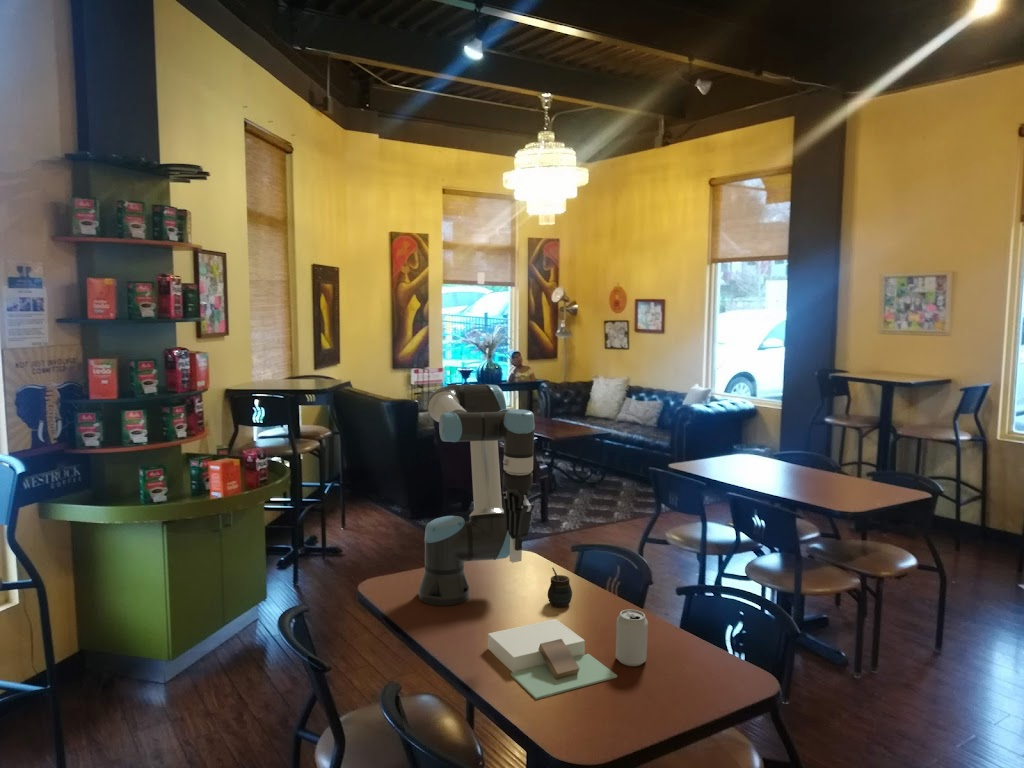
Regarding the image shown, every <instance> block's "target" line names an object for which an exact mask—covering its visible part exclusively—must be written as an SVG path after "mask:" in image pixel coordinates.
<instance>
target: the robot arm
mask: <svg viewBox="0 0 1024 768" xmlns="http://www.w3.org/2000/svg"><path fill="white" fill-rule="evenodd" d="M506 402H507V401H506V398H505V394H504V391H503V390H502V388H501V387H500V386H499V385H497V384H487V383H484V384H483V383H482V384H479V383H478V384H448V385H446V386H443V387H440V388H438V389H437V390H435V391H434V392H432V394H431V395H430V396H429V399H428V400H427V405H426V406H427V412H428V414H429V416H430V418H432V420H434V421H435V422H438V429H439V431H438V433H439V436H440V437H439V438H440V440H441V441H442V442H451V443H457V442H458V443H459V442H461V443H462V442H469V443H470V459H471V478H472V497H473V510H472V511H471V513H470V514H469V521H465V518H463V517H462V516H459V515H446V516H445V515H444V516H441V517H437V518H434V519H433V520H430V521H429V522H428V523H427V524H426V526H425V530H424V531H425V532H424V538H423V539H424V572H423V575H422V578H421V581H420V585H419V588H418V599H419V600H420V601H421V602H423V603H425V604H428V605H430V606H431V605H432V606H445V607H446V606H454V605H458V604H462V603H464V602H466V601H467V600H468V599H469V598H470V586H469V583H468V580H467V576H466V572H465V566H464V565H465V562H476V561H477V562H479V561H496V560H503V559H506V558H507V559H508V558H509V562H510V563H512V564H513V563H518V562H522V555H523V553H522V552H523V539H524V538H528V536H529V531H530V525H531V524H530V523H531V519H532V514H533V510H534V509H535V505H534V503H530V501H529V499H530V498H529V490H530V489H531V488H532V487H533V477H534V474H533V470H534V443H535V428H536V424H535V414H534V413H533V412H532V411H531V410H528V409H521V408H520V409H519V408H517V409H509V408H507V403H506ZM499 441H503V460H502V463H503V470H504V472H502V486H503V487H504V488H506V491H504V492H502V487H501V472H500V471H501V470H500V469H501V468H500V458H499Z"/></svg>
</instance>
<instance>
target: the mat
mask: <svg viewBox="0 0 1024 768" xmlns="http://www.w3.org/2000/svg"><path fill="white" fill-rule="evenodd" d="M573 658H574V660H575V661H576V663H577V665H578V666H579V668H580V669H579V672H578V674H576V675H572V676H568V677H565V678H561V679H557V680H556V679H555V678H554V676H553V674H552V672H551V671H550V669H549V667H548V665H547V664H545V665H541V666H537V667H533V668H529V669H525V670H521V671H517V672H510V676H511V678H512V679H514V680H515V681H516V682H517V683H518V684H519V685H520V686H522V687H523V688H524V690H525V691H527V692H528V694H530V696H532V697H533V698H534V699H535V701H536V700H540V699H544V698H547V697H548V698H549V697H551V696H554V695H558V694H562V693H566V692H569V691H572V690H576V689H579V688H583V687H587V686H592V685H594V684H595V685H596V684H597V683H598V684H599V683H602V682H605V681H610V680H613V679H616V678H618V675H617V674H616V673H615V672H613V671H612V670H611V669H610V668H608V667H607V666H605V665H604V664H603V663H602V662H600V661H599V660H597V659H596V657H594V656H592V655H591V654H590V653H587V654H585V655H581V656H577V657H573Z"/></svg>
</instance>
